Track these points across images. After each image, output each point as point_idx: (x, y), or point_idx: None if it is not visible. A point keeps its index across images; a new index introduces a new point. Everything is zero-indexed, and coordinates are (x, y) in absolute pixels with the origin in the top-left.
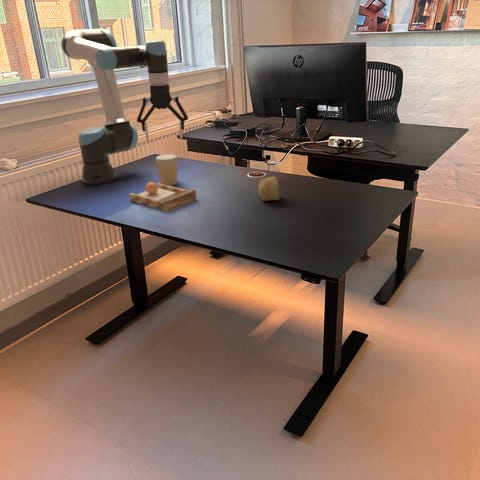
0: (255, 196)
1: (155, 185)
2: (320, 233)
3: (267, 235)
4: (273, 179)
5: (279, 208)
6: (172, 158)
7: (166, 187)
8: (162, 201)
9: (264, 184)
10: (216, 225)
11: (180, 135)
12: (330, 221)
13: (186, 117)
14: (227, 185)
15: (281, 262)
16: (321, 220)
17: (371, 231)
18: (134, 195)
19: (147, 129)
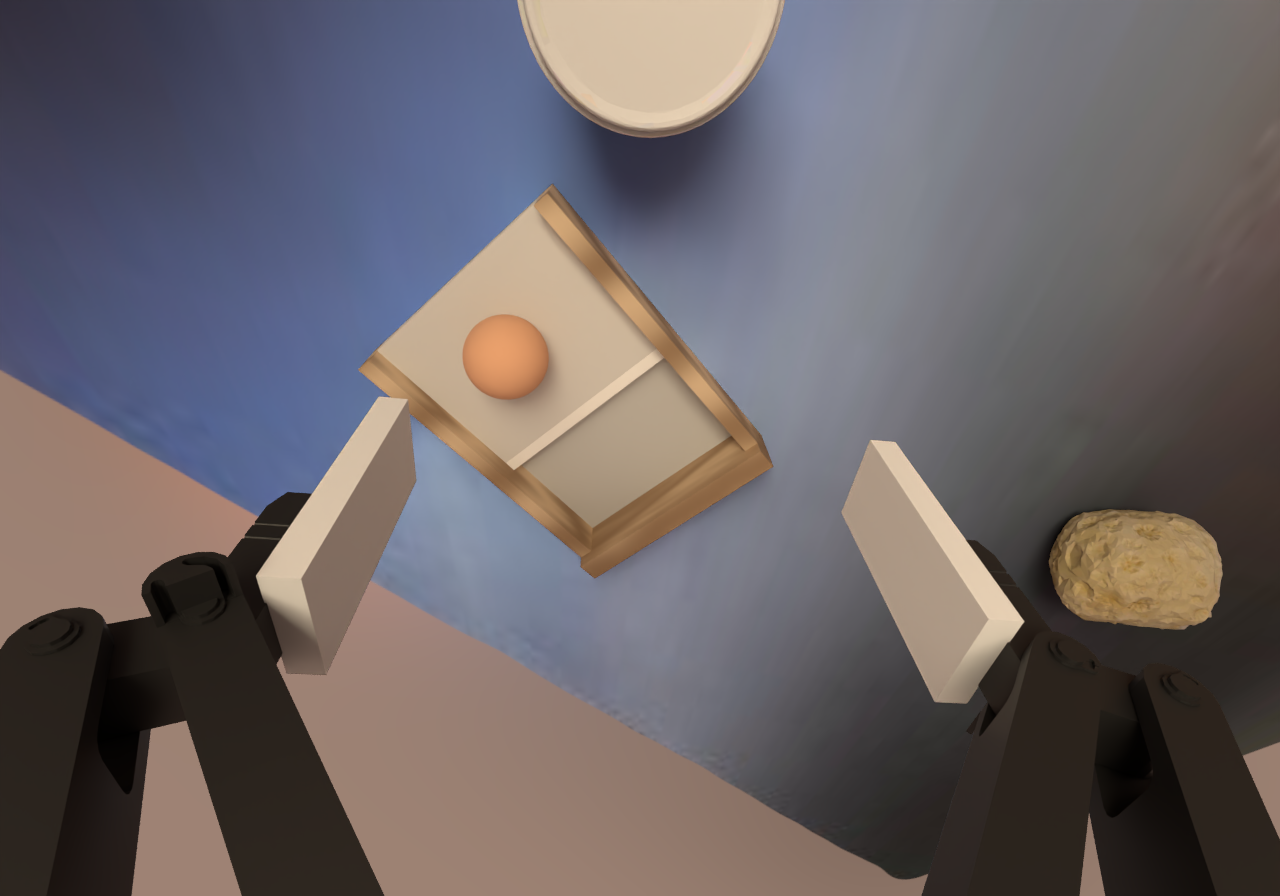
0: (1059, 477)
1: (532, 388)
2: None
3: (880, 754)
4: (1176, 623)
5: (1051, 615)
6: (716, 107)
7: (608, 289)
8: (575, 428)
9: (1104, 619)
10: (761, 682)
11: (860, 540)
12: None
13: (1124, 784)
14: (1036, 249)
15: (837, 840)
16: None
17: None
18: None
19: (361, 522)
